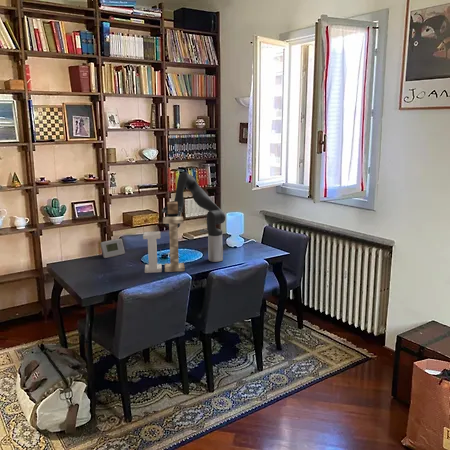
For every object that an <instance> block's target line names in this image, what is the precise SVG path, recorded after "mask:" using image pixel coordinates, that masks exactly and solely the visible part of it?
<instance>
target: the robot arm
mask: <svg viewBox="0 0 450 450" xmlns="http://www.w3.org/2000/svg"><path fill="white" fill-rule="evenodd" d="M175 188H176V189H175V196H174V201H173V202H178V214H168V206H164V207H163V208H161V209H162V210H161V211H162V212H161V213H162V214H166V217H182V216H181V215H182V213H184V210H183V209H184V203H185V198H184V197H185V196H184V189H185V188H186V189H188V191H189V192H190V193H191V194H192V199H193V200H194V202H195V203H196V204H197V205H198V206H199V207H200V208H202V209H204V210H206V211H207V213H206V231H207V237H208V238H207V244H208V245H207V247H208V248H207V251H208V256H207V258H208V261H210V262H212V263H215V262H222V261H223V260H224V246H223V229H221V228H217V226H216V225H221V224H223V223H225V221H226V215H225V212H224V211H223V210H222V209H221V208H220V207H219V206H217V204H216V203H215V202H214V201H213V200H212V198H210V196H209V194H207V192H206V191H205V190H204V189H203V188H202V187H201V186H200V185H199V184H198V182H197V181H196V178H195V177H194V176H193V175H191V174H189V173H188V172H186V171H182V172H180V174H179V175H178V177H177V182H176V187H175ZM165 226H167V227H169V224H165ZM180 226H181V223H178V229H179V228H180Z"/></svg>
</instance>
